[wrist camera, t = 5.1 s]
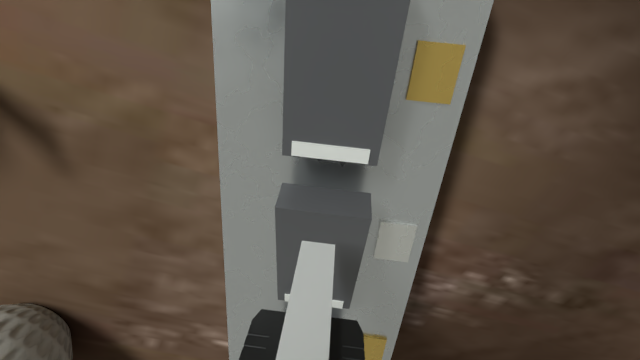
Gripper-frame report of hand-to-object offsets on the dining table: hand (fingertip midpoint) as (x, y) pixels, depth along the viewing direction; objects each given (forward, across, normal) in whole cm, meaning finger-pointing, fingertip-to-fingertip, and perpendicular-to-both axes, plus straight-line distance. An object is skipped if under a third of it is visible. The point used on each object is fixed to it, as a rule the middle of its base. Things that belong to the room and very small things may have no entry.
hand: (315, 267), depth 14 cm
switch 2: (+5, 0, -3) cm, 5 cm away
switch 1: (+5, 0, +8) cm, 10 cm away
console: (+12, 0, -3) cm, 12 cm away
